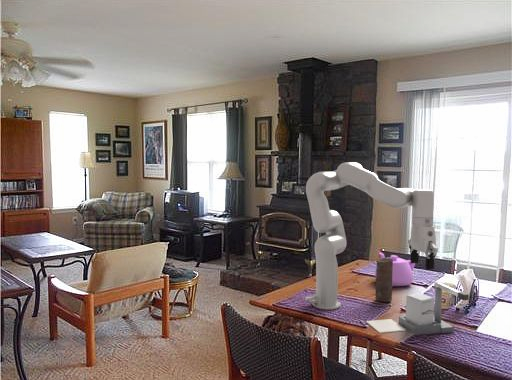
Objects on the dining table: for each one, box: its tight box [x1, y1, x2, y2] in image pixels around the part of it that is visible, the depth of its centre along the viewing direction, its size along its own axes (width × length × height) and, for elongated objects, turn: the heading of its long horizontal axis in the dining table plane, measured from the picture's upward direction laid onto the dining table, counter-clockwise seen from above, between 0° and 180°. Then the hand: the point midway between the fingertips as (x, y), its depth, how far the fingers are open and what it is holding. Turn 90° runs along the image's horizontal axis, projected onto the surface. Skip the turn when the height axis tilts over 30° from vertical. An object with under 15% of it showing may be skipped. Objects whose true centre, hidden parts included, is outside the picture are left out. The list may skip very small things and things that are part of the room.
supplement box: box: [405, 292, 435, 326], centre depth 158 cm, size 7×7×13 cm
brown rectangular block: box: [375, 257, 393, 302], centre depth 188 cm, size 8×7×20 cm
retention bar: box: [433, 281, 470, 301], centre depth 152 cm, size 17×3×2 cm, turn 12°
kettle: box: [374, 252, 416, 288], centre depth 219 cm, size 23×21×15 cm
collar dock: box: [398, 287, 455, 336], centre depth 158 cm, size 16×12×15 cm
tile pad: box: [366, 318, 407, 334], centre depth 159 cm, size 11×11×1 cm
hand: (421, 265), depth 156 cm, fingers open, 9 cm apart
